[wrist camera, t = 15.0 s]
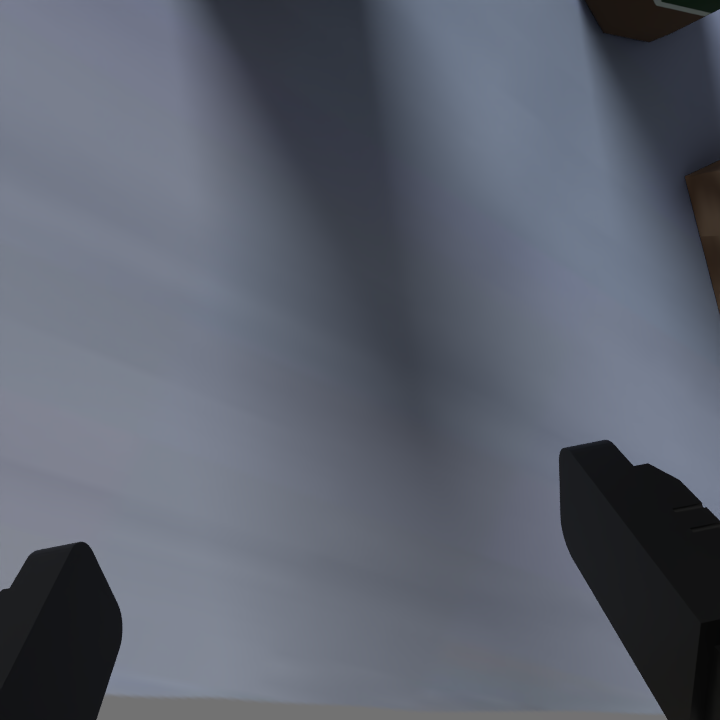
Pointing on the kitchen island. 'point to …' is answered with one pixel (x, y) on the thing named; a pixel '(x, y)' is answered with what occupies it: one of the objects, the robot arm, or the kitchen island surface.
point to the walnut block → (708, 216)
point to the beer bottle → (648, 16)
